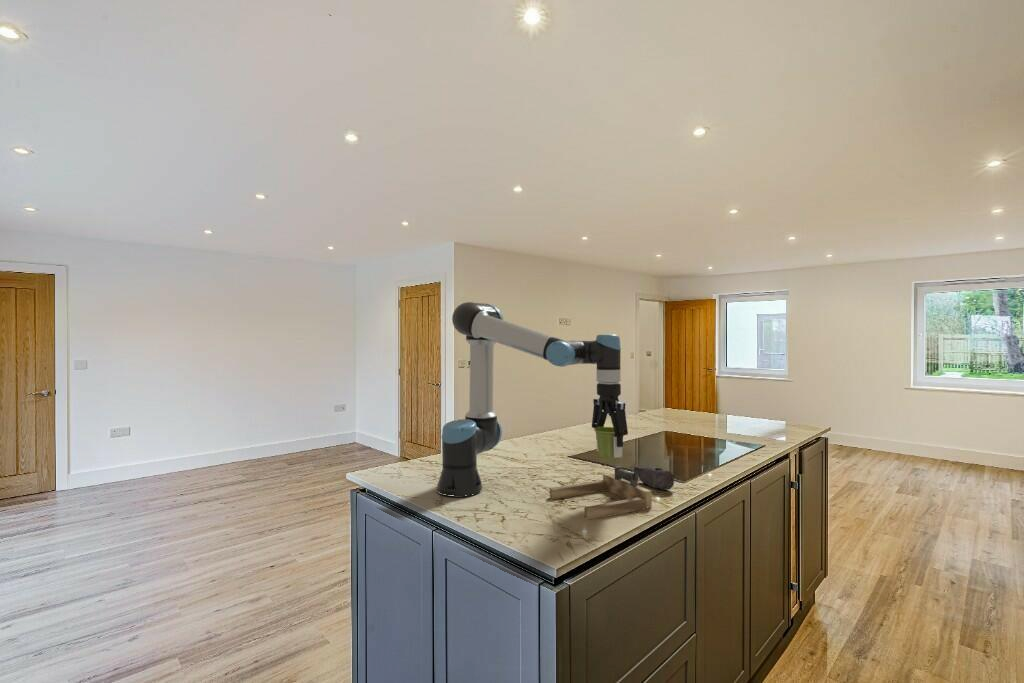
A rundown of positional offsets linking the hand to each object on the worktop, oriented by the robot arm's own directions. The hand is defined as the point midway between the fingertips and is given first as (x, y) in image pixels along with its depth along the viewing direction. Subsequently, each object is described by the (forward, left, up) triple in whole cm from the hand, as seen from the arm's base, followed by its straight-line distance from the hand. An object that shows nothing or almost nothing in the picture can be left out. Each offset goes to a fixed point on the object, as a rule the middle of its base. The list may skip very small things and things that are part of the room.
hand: (609, 453), depth 155 cm
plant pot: (0, 0, -1) cm, 1 cm away
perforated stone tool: (-5, +22, -15) cm, 28 cm away
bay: (0, -4, -15) cm, 15 cm away
